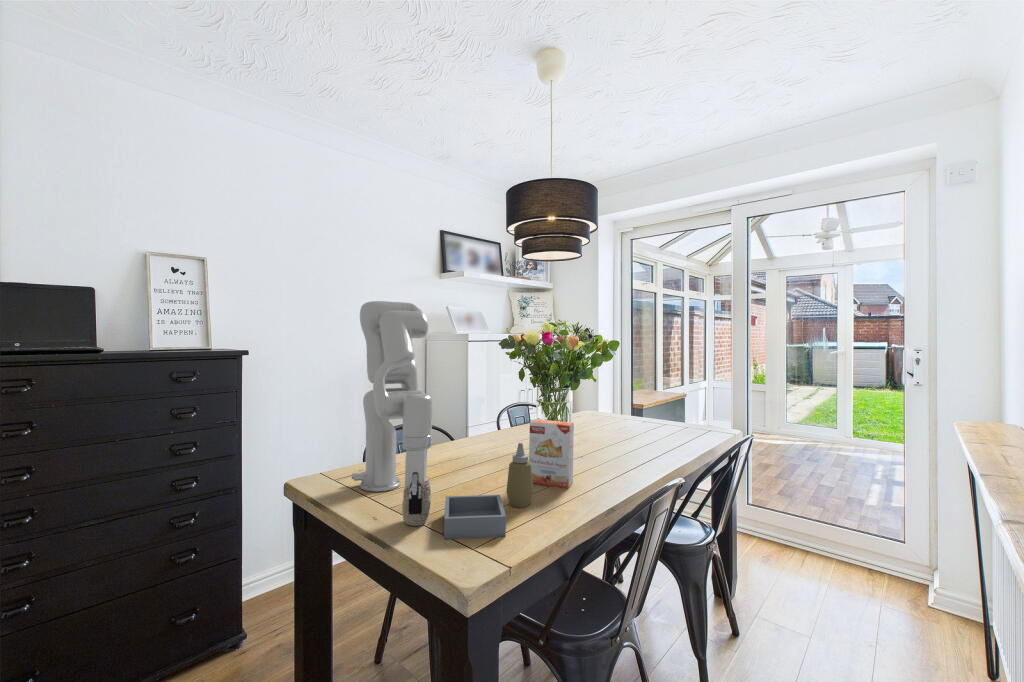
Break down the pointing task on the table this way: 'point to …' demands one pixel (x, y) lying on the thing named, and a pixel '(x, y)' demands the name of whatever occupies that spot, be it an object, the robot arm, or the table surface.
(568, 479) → the cracker box
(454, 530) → the bin
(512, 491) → the squeeze bottle
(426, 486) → the carving
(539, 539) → the table surface
